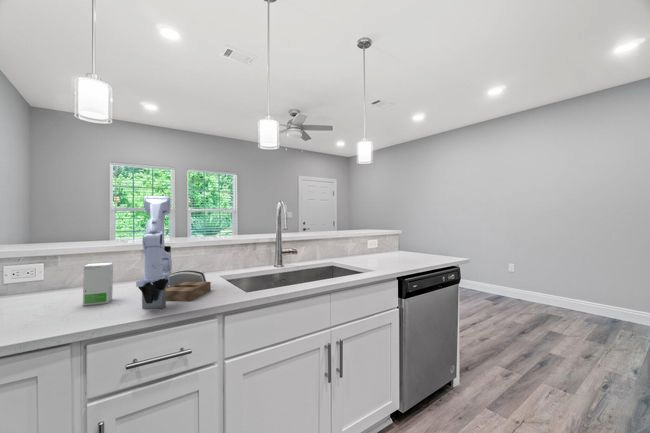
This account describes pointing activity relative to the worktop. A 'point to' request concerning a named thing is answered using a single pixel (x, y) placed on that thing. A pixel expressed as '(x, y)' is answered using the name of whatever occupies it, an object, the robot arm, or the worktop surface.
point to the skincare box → (97, 283)
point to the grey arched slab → (186, 276)
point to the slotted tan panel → (187, 290)
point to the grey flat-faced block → (156, 300)
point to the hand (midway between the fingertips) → (154, 300)
